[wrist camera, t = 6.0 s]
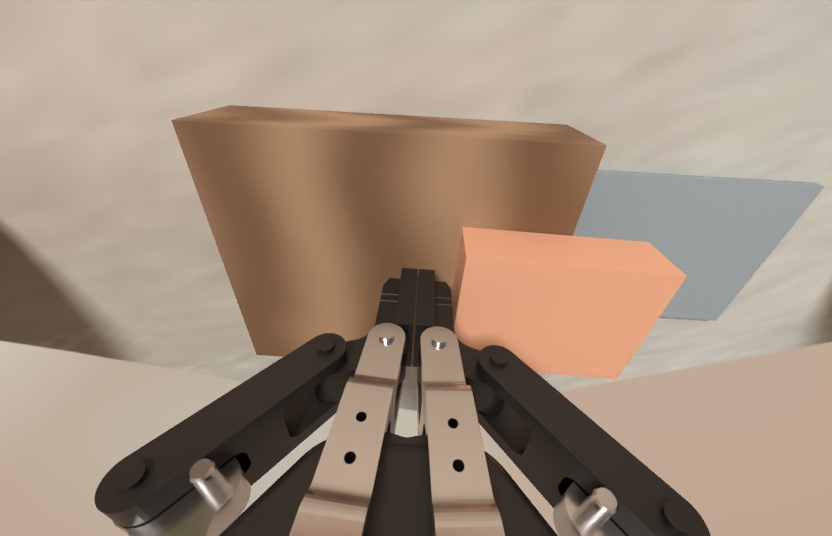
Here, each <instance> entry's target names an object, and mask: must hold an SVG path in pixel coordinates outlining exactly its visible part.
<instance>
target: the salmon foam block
mask: <svg viewBox="0 0 832 536" xmlns="http://www.w3.org/2000/svg"><path fill="white" fill-rule="evenodd" d="M686 277H687V276H686V275H685V274H684V273H683V272H682V271H681V270H680V269H678V268H677V267H676V266H675V265H674V264H673V263H672V262H671V261H669V260H668V259H667V258H666V257H665V256H664V255H663V254H662V253H660V252H659V251H658V250H657V249H656V248H655V247H654V246H653V245H652V244H650V243H649V242H642V241H630V240H618V239H605V238H593V237H581V236H569V235H556V234H544V233H532V232H520V231H507V230H495V229H483V228H470V227H462V231H461V238H460V244H459V250H458V256H457V262H456V269H455V275H454V281H453V287H452V294H451V295H452V308H453V320H454V331H455V335H456V337H457V338H458V339H459V340H460V341H461V342H462V343H463V344H465V345H467V346H469V347H471V348H474V349H477V350H480V351H481V350H482V349H483V348H484V347H486V346H490V345H498V346H502V347H505V348H507V349H508V350H510V351H511V352H512V353H514V354H515V355H516V356H517V357H518V358H519V359H521V360H522V361H523V362H524V363H525V364H527V365H528V366H529V367H530V368H531V369H532V370H534V371H535V372H542V373H553V374H565V375H576V376H587V377H599V378H610V379H617V378H618V377H619V375H620V374H621V372H622V371H623V369H624V368H625V366H626V365H627V363H628V362H629V361H630V359H631V358H632V356H633V355H634V353H635V352H636V350H637V349H638V347H639V346H640V344H641V343H642V341H643V340H644V339H645V337H646V336H647V334H648V333H649V331H650V330H651V328H652V327H653V325H654V324H655V322H656V321H657V319H658V318H659V317H660V315H661V314H662V312H663V311H664V309H665V308H666V306H667V305H668V303H669V302H670V300H671V299H672V297H673V296H674V295H675V293H676V292H677V290H678V289H679V287H680V286H681V284H682V283H683V281H684V280H685V278H686Z"/></svg>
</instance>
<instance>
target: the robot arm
mask: <svg viewBox="0 0 832 536" xmlns="http://www.w3.org/2000/svg"><path fill="white" fill-rule="evenodd" d="M417 272H418V269H413V268H402V270H401V277H400V279H397V278H389V279H388V280H387V281H386V282H385V283H384V285H383V289H382V294H381V298H380V303H379V307H378V312H377V317H376V322H375V326H374V327H373V328H372V329H371V330H370V331H369V333H368V335H366V336H364V337H362V338H360V339H356V340H351V341H345V340H344V338H343V337H341V336H340V335H338V334H335V333H324V334H320V335H318V336H316V337H314V338H313V339H311V340H310V341H308V342H306V343H305V344H303V345H302V346H300V347H299V348H297V349H295V350H294V351H292V352H291V353H289V354H287V355H286V356H284V357H283V358H281V359H280V360H278V361H276V362H275V363H273V364H272V365H270V366H269V367H267V368H265V369H264V370H262V371H261V372H259V373H258V374H256V375H254V376H253V377H251V378H250V379H248V380H247V381H245V382H243V383H242V384H241V385H239V386H237V387H236V388H234V389H232V390H231V391H229V392H228V393H226V394H225V395H223V396H221V397H220V398H218V399H217V400H215V401H214V402H212V403H210V404H209V405H207V406H206V407H204V408H203V409H201V410H199V411H198V412H197V413H195V414H193V415H192V416H190V417H188V418H187V419H185V420H184V421H182V422H181V423H179V424H177V425H176V426H174V427H173V428H171V429H169V430H168V431H166V432H165V433H163V434H162V435H160V436H158V437H157V438H156V439H154V440H152V441H151V442H149V443H147V444H146V445H144V446H143V447H141V448H140V449H138V450H136V451H135V452H133V453H132V454H130V455H129V456H127V457H125V458H124V459H123V460H121V461H120V462H118V463H117V464H116V465H115V466H114V467H113V468H112V469H111V470H110V471H109V472H108V473H107V474H106V475H105V477H104V478H103V479H102V481H101V482H100V484H99V486H98V488H97V491H96V494H95V504H96V507H97V508H98V510H100V511H101V512H103V513H104V514H105V515H106V516H108V517H109V518H110V519H112V520H113V522H114V524H115V525H116V526H117V527H119V528H120V529H122V530H123V531H124V532H126V533H127V534H128V535H129V536H558V535H557V534H556V533H555V532H554V530H553V529H552V528H551V527H550V525H548V523H547V522H546V520H545V519H544V518H543V516H542V515H541V514H540V513H539V512H538V510H537V509H536V508H535V507H534V505H533V504H532V503H531V501H530V500H529V499H528V498H527V496H526V495H525V494H524V493H523V491H522V490H521V489H520V488H519V486H518V485H517V484H516V483H515V481H514V480H513V479H512V478H511V476H510V475H509V474H508V473H507V471H506V470H505V469H504V468H503V466H501V464H500V463H499V462H498V461H497V460H496V459H494V458H493V457H492V456H491V455H489V454H488V453H487V452H485V451H484V448H483V443H482V438H481V433H480V428H479V423H480V425H481V426H482V427H483V428H484V429H485V430H486V432H487V433H488V434H489V435H490V436H491V437H492V438H493V440H495V442H496V443H497V444H498V445H499V446H500V448H501V449H502V450H503V451H504V452H505V453H506V454H507V455H508V457H509V458H510V459H511V460H512V461H513V462H514V463H515V464H516V466H517V467H518V468H519V469H520V470H521V471H522V473H523V474H524V475H525V476H526V477H527V478H528V479H529V480H530V482H531V483H532V484H533V485H534V486H535V487H536V489H537V490H538V491H539V492H540V493H541V494H542V495H543V497H544V498H545V499H546V500H547V501H548V502H549V503H550V504H551V506H552V507H553V508H554V512H553V518H554V524H555V527H556V530H557V532H558V534H559V536H710V533H709V530H708V528H707V526H706V524H705V522H704V520H703V519H702V517H701V516H700V514H699V513H698V512H697V511H696V509H694V507H693V506H692V505H691V504H690V503H689V502H688V501H686V500H685V499H684V498H683V497H682V496H681V495H679V494H678V493H677V492H676V491H675V490H674V489H672V488H671V487H670V486H669V485H668V484H666V483H665V482H664V481H663V480H662V479H661V478H659V477H658V476H657V475H656V474H655V473H654V472H652V471H651V470H650V469H649V468H648V467H647V466H645V465H644V464H643V463H642V462H640V461H639V460H638V459H637V458H636V457H635V456H634V455H632V454H631V453H630V452H629V451H628V450H627V449H625V448H624V447H623V446H622V445H621V444H619V443H618V442H617V441H616V440H615V439H614V438H612V437H611V436H610V435H609V434H608V433H607V432H605V431H604V430H603V429H602V428H600V427H599V426H598V425H597V424H596V423H595V422H594V421H592V420H591V419H590V418H589V417H588V416H587V415H585V414H584V413H583V412H582V411H581V410H579V409H578V408H577V407H576V406H575V405H574V404H572V403H571V402H570V401H569V400H568V399H566V398H565V397H564V396H563V395H562V394H561V393H559V392H558V391H557V390H556V389H555V388H554V387H552V386H551V385H550V384H549V383H548V382H547V381H545V380H544V379H543V378H542V377H541V376H539V375H538V374H537V373H536V372H535V371H534V370H532V369H531V368H530V367H529V366H528V365H527V364H525V363H524V362H523V361H522V360H521V359H519V358H518V357H517V356H516V355H515V354H514V353H512V352H511V351H510V350H508V349H507V348H505V347H502V346H498V345H490V346H486V347H484V348H483V349H482V350H481V351H480V350H477V349H474V348H471V347H469V346H467V345H465V344H463V343H462V342H461V341H460V340H459V339H458V338H457V337H456V335H455V331H454V320H453V308H452V295H451V289H450V287H449V286H448V284H447V283H446V282H442V281H435V270H428V269H419V278H418V292H417V306H416V322H415V337H414V353H413V367H418V369H417V384H416V389H417V414H418V436H414V437H409V438H405V437H401V436H399V435H395V427H396V421H397V415H398V410H399V404H400V399H401V393H402V388H403V380H404V378H405V372H406V366H411V359H412V344H413V330H414V316H415V301H416V287H417ZM335 413H336V415H335V418H334V421H333V423H332V427H331V429H330V432H329V435H328V438H327V440H325V441H323V442H321V443H319V444H318V445H316V446H314V447H313V448H312V449H310V450H309V451H308V452H306V453H305V454H304V455H303V456H302V457H301V458H300V459H299V460H298V461H297V462H296V463H295V464H294V465H293V466H292V467H291V468H289V470H287V471H286V472H285V473H284V474H283V475H282V476H281V477H280V478H279V479H278V480H277V481H276V482H275V483H274V484H273V485H272V486H271V487H269V488H268V489H267V490H266V492H264V493H263V494H262V495H261V496H260V497H259V498H258V499H257V500H256V501H255V502H254V503H253V504H252V505H250V507H248V508H247V509H246V510H245V511H244V512H243V513H242V511H243V510H244V508H245V507H246V505H247V503H248V500H249V497H250V492H251V486H252V485H253V483H255V482H256V481H257V480H259V479H260V478H261V477H262V476H263V475H264V474H265V473H267V472H268V471H269V470H270V469H271V468H272V467H274V466H275V465H276V464H277V463H278V462H279V461H280V460H282V459H283V458H284V457H285V456H286V455H287V454H289V453H290V452H291V451H292V450H293V449H294V448H296V447H297V446H298V445H299V444H300V443H301V442H302V441H304V440H305V439H306V438H307V437H308V436H310V435H311V434H312V433H313V432H314V431H315V430H317V429H318V428H319V427H320V426H321V425H322V424H323V423H325V422H326V421H327V420H328V419H329V418H331V417H332V416H333V415H334V414H335ZM478 422H479V423H478ZM241 513H242V514H241ZM240 514H241V515H240ZM239 515H240V516H239ZM238 516H239V517H238ZM237 517H238V518H237ZM236 518H237V519H236ZM235 519H236V520H235Z"/></svg>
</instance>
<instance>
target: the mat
mask: <svg viewBox="0 0 832 536" xmlns="http://www.w3.org/2000/svg"><path fill="white" fill-rule="evenodd" d="M824 187H825V186H822V185H819V184H816V183H806V182H789V181H772V180H755V179H738V178H721V177H704V176H687V175H670V174H653V173H636V172H619V171H602V170H597V172H596V175H595V177H594V180H593V183H592V185H591V188H590V191H589V193H588V196H587V199H586V201H585V204H584V207H583V210H582V212H581V215H580V218H579V220H578V223H577V226H576V228H575V231H574V234H573V236H581V237H593V238H605V239H618V240H630V241H642V242H649V243H650V244H652V245H653V246H654V247H655V248H656V249H657V250H658V251H659V252H660V253H662V254H663V255H664V256H665V257H666V258H667V259H668V260H669V261H671V262H672V263H673V264H674V265H675V266H676V267H677V268H678V269H680V270H681V271H682V272H683V273H684V274H685V275H686V276H687V277H686V278H685V280H684V281H683V283H682V284H681V286H680V287H679V289H678V290H677V292H676V293H675V295H674V296H673V297H672V299H671V300H670V302H669V303H668V305H667V306H666V308H665V309H664V311H663V312H662V314H661V315H660V317H668V318H684V319H700V320H715V321H716V320H717V319H718V318H719V316H720V315H721V314H722V313H723V311H724V310H725V309H726V308H727V307H728V305H729V304H730V303H731V302H732V300H733V299H734V298H735V297H736V295H737V294H738V293H739V292H740V290H741V289H742V288H743V287H744V285H745V284H746V283H747V282H748V281H749V279H750V278H751V277H752V276H753V274H754V273H755V272H756V271H757V269H758V268H759V267H760V266H761V264H762V263H763V262H764V261H765V260H766V258H767V257H768V256H769V255H770V253H771V252H772V251H773V250H774V248H775V247H776V246H777V245H778V243H779V242H780V241H781V240H782V238H783V237H784V236H785V235H786V234H787V232H788V231H789V230H790V229H791V227H792V226H793V225H794V224H795V222H796V221H797V220H798V219H799V217H800V216H801V215H802V214H803V213H804V211H805V210H806V209H807V208H808V206H809V205H810V204H811V203H812V201H813V200H814V199H815V198H816V196H817V195H818V194H819V193H820V191H821V190H822V189H823V188H824Z"/></svg>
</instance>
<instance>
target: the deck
mask: <svg viewBox="0 0 832 536" xmlns="http://www.w3.org/2000/svg"><path fill="white" fill-rule="evenodd" d="M172 123H173V126H174V128H175V131H176V134H177V137H178V139H179V142H180V145H181V148H182V150H183V153H184V156H185V159H186V161H187V164H188V167H189V170H190V172H191V175H192V178H193V181H194V183H195V186H196V189H197V192H198V194H199V197H200V200H201V203H202V205H203V208H204V211H205V214H206V216H207V219H208V222H209V225H210V227H211V230H212V233H213V236H214V238H215V241H216V244H217V247H218V249H219V252H220V255H221V258H222V260H223V263H224V266H225V269H226V271H227V274H228V277H229V280H230V282H231V285H232V288H233V291H234V293H235V296H236V299H237V302H238V304H239V307H240V310H241V313H242V315H243V318H244V321H245V324H246V326H247V329H248V332H249V335H250V337H251V340H252V343H253V346H254V348H255V351H256V354H257V355H268V356H286V355H287V354H289V353H291V352H292V351H294V350H295V349H297V348H299V347H300V346H302V345H303V344H305V343H306V342H308V341H310V340H311V339H313V338H314V337H316V336H318V335H320V334H324V333H335V334H338V335H340V336H341V337H343V338H344V340H345V341H351V340H356V339H360V338H362V337H364V336H366V335H368V333H369V331H370V330H371V329H372V328H373V327H374V326H375V322H376V317H377V312H378V307H379V303H380V298H381V294H382V289H383V285H384V283H385V282H386V281H387V280H388V279H389V278H397V279H400V277H401V270H402V268H413V269H418V272H417V287H416V301H415V316H414V330H413V344H412V359H411V365H413V353H414V337H415V322H416V306H417V292H418V278H419V269H428V270H435V281H442V282H446V283H447V284H448V286H449V287H450V289H451V294H452V287H453V281H454V275H455V269H456V262H457V256H458V250H459V244H460V238H461V231H462V227H470V228H483V229H495V230H507V231H520V232H532V233H544V234H556V235H569V236H573V234H574V231H575V228H576V226H577V223H578V220H579V218H580V215H581V212H582V210H583V207H584V204H585V201H586V199H587V196H588V193H589V191H590V188H591V185H592V183H593V180H594V177H595V175H596V172H597V169H598V167H599V164H600V161H601V159H602V156H603V153H604V151H605V148H606V145H605V144H603V143H601V142H599V141H597V140H595V139H593V138H591V137H589V136H587V135H585V134H584V133H582V132H580V131H578V130H576V129H574V128H572V127H570V126H568V125H559V124H542V123H524V122H507V121H489V120H472V119H455V118H437V117H420V116H402V115H385V114H368V113H350V112H333V111H315V110H298V109H281V108H263V107H246V106H226V107H222V108H218V109H214V110H210V111H206V112H202V113H198V114H194V115H190V116H186V117H182V118H178V119H175V120H172Z"/></svg>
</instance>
